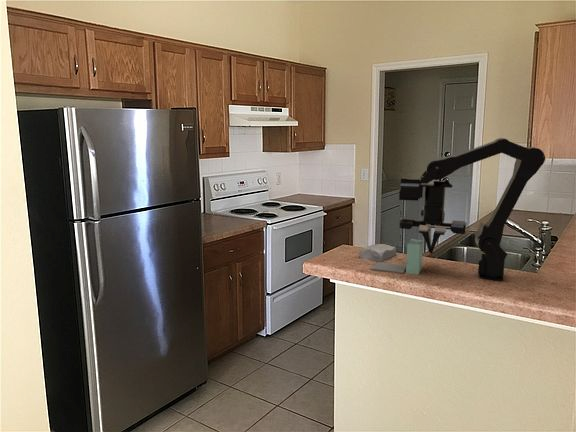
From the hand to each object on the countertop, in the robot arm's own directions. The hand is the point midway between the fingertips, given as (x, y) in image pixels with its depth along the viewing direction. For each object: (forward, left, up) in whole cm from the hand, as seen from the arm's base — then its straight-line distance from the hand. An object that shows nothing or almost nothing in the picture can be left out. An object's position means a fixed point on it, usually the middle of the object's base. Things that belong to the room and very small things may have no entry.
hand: (431, 252), depth 144 cm
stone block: (+19, -12, -7) cm, 23 cm away
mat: (+12, 0, -6) cm, 14 cm away
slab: (+5, 0, -6) cm, 8 cm away
